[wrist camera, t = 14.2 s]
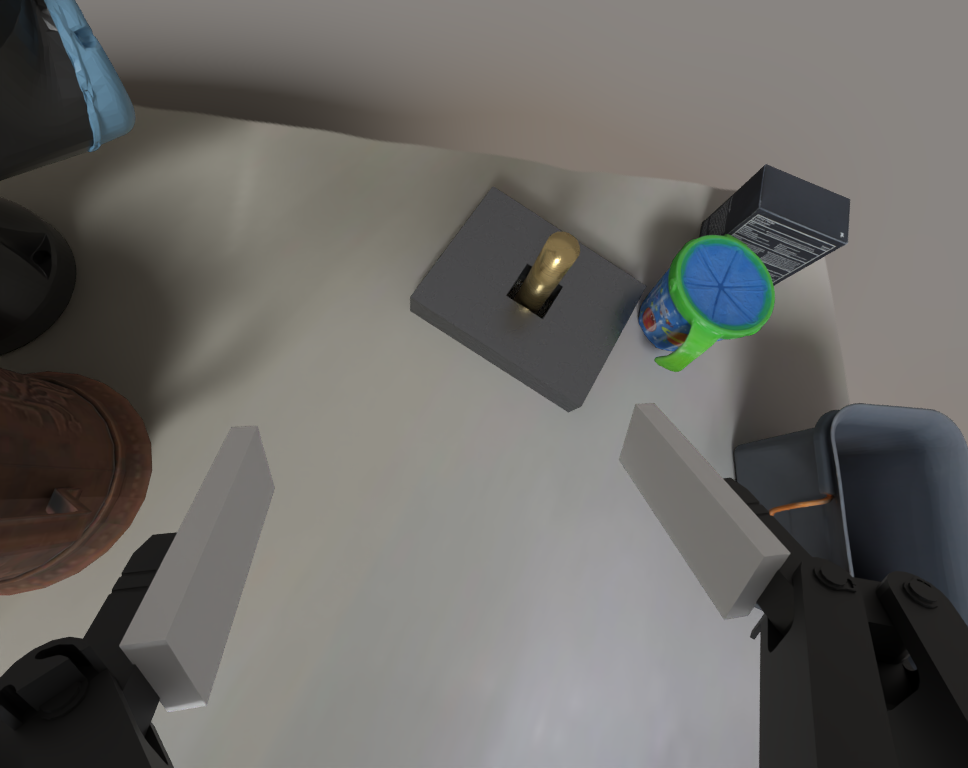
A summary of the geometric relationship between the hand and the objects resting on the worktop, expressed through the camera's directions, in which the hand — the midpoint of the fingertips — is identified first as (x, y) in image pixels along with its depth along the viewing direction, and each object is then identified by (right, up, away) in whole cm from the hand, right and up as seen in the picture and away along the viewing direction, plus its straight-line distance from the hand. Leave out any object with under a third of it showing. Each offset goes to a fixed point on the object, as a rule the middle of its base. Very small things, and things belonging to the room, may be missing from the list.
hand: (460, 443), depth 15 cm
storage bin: (+31, -13, +31) cm, 46 cm away
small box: (+33, +19, +39) cm, 54 cm away
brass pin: (+6, +11, +32) cm, 35 cm away
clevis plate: (+6, +11, +32) cm, 35 cm away
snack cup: (+22, +9, +35) cm, 43 cm away
